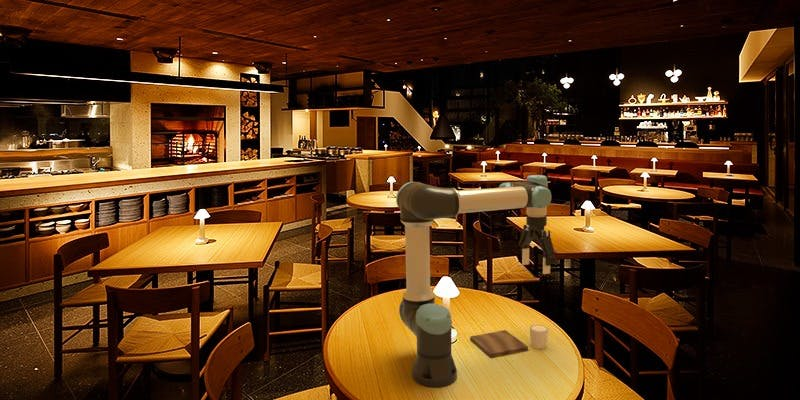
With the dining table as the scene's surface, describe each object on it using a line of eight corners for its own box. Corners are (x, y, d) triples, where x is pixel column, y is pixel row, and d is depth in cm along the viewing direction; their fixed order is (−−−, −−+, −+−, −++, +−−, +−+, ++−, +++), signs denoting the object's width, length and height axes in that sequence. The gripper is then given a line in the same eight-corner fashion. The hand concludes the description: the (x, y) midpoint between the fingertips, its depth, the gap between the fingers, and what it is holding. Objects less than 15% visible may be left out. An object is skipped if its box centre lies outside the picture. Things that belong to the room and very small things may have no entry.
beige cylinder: (549, 350, 175) (549, 332, 174) (530, 348, 176) (530, 331, 175) (547, 342, 182) (547, 325, 181) (528, 341, 183) (529, 324, 182)
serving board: (490, 357, 170) (490, 354, 170) (470, 340, 185) (470, 336, 185) (528, 350, 175) (528, 346, 175) (505, 333, 190) (505, 330, 190)
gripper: (565, 220, 169) (564, 276, 172) (526, 209, 193) (525, 259, 196) (548, 221, 167) (547, 279, 170) (510, 211, 190) (509, 261, 193)
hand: (535, 268), depth 183 cm, fingers open, 13 cm apart
